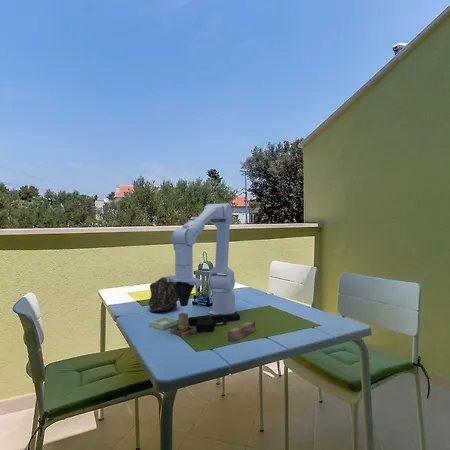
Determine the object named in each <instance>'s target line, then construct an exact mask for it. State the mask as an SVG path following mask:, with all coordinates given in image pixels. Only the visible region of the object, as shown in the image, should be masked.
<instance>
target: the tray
mask: <svg viewBox="0 0 450 450" xmlns="http://www.w3.org/2000/svg"><path fill="white" fill-rule="evenodd" d="M148 324H149V325H148V327H149V328H153V329H155V330H159V331H166V330H168V329H169V330H170V329H173V328H175V327H178V326H179V319H175V318H172V317H167V316H161V317H159V318H155V319H152V320H149V321H148Z"/></svg>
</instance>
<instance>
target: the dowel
mask: <svg viewBox="0 0 450 450" xmlns="http://www.w3.org/2000/svg"><path fill="white" fill-rule="evenodd" d="M188 318H189V315H188V313H186V312H182V313H178V327H179V331H182V332H186V331H188V326H189V324H188Z"/></svg>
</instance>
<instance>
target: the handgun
mask: <svg viewBox="0 0 450 450" xmlns="http://www.w3.org/2000/svg"><path fill="white" fill-rule="evenodd" d="M240 319H241V314H239V313H238V312H234V313H226V314H216V315H214V314H212V315H208V314H207V315H200V316H190V317H189V316H188V326H191V327H194V326H195V328H196V329H197V332H196V333H213V332H214V331H215V326H217V325H218V326H219V325H225V324H226V325H227V324H228V323H229V322H233V321H234V322H235V321H240Z"/></svg>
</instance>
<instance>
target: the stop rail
mask: <svg viewBox="0 0 450 450" xmlns="http://www.w3.org/2000/svg"><path fill="white" fill-rule="evenodd" d="M255 331H256V321H254V320H249V321H247V322H244V323H242V324H240V325H237V326H235V327H233V328H232V329H229V330H227V342H232V343H234V342H236V341H237V340H240V339H242V338H244V337H246V336H248V335H250V334H252V333H253V332H255Z"/></svg>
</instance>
